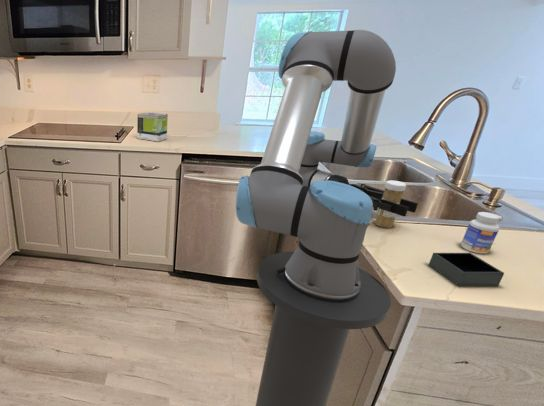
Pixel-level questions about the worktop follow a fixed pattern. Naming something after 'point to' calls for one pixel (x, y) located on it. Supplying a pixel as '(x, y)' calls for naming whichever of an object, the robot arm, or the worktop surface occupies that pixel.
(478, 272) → the dark gray tray
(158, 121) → the tea box
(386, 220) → the sprinkles bottle
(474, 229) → the pill bottle
